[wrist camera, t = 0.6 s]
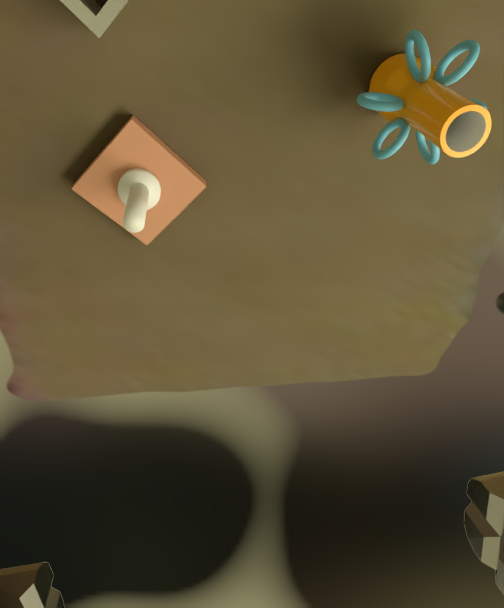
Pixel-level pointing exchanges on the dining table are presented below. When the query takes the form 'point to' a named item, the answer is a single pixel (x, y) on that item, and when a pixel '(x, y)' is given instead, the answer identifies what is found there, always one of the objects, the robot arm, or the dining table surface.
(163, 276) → the dining table surface
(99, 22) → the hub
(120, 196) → the shaft block
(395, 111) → the orange vase with loops
